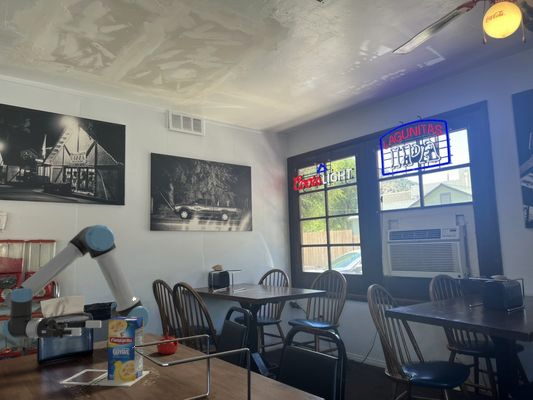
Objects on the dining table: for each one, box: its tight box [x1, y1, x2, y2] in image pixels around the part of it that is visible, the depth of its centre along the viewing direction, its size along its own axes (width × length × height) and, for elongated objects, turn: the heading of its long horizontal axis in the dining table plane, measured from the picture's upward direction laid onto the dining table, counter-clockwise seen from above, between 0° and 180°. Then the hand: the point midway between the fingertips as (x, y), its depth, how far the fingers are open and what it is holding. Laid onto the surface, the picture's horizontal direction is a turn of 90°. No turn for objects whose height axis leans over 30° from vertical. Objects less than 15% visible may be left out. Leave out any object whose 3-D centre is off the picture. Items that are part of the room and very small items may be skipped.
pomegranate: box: [156, 332, 179, 355], centre depth 188 cm, size 10×10×9 cm
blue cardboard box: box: [106, 317, 144, 381], centre depth 152 cm, size 7×11×22 cm, turn 81°
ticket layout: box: [59, 369, 150, 388], centre depth 152 cm, size 16×28×1 cm, turn 81°
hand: (91, 327), depth 155 cm, fingers open, 13 cm apart
